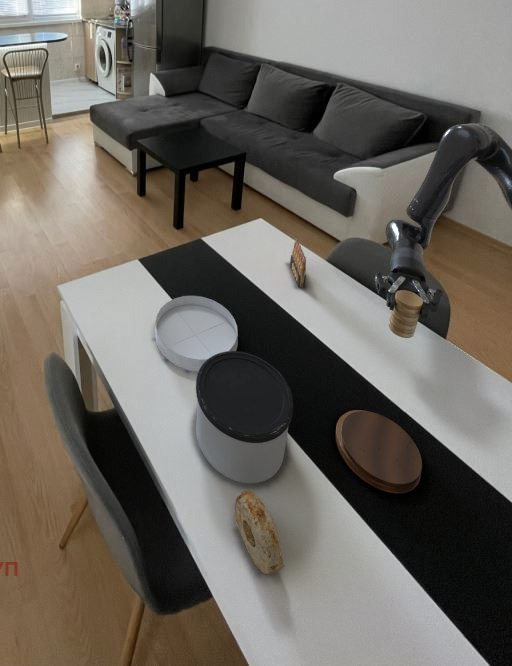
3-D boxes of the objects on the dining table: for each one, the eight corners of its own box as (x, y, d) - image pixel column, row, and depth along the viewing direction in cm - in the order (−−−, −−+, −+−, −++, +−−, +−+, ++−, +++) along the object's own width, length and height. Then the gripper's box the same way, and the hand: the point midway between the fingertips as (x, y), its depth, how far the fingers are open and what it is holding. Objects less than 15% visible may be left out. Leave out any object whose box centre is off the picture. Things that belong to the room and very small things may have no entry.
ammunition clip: (289, 266, 141) (293, 236, 137) (295, 267, 141) (299, 236, 137) (297, 289, 132) (302, 258, 127) (304, 290, 131) (308, 258, 127)
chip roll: (413, 326, 102) (422, 294, 98) (414, 341, 98) (423, 309, 94) (388, 317, 105) (395, 287, 101) (387, 332, 101) (395, 301, 97)
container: (191, 394, 102) (192, 348, 96) (273, 399, 100) (279, 352, 94) (198, 484, 84) (200, 434, 79) (297, 492, 82) (306, 441, 77)
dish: (183, 388, 103) (183, 374, 101) (140, 324, 122) (140, 311, 120) (255, 353, 111) (256, 339, 109) (205, 298, 130) (205, 285, 128)
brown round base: (418, 440, 90) (422, 429, 88) (421, 514, 78) (425, 502, 77) (338, 405, 97) (341, 395, 96) (330, 468, 86) (332, 456, 84)
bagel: (228, 518, 79) (231, 484, 75) (245, 509, 80) (249, 476, 76) (264, 590, 70) (269, 556, 66) (283, 580, 71) (289, 546, 67)
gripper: (377, 248, 112) (373, 288, 99) (445, 265, 104) (451, 311, 91) (372, 271, 115) (368, 313, 102) (438, 289, 107) (442, 337, 94)
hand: (407, 312), depth 97 cm, fingers closed on chip roll, 5 cm apart
